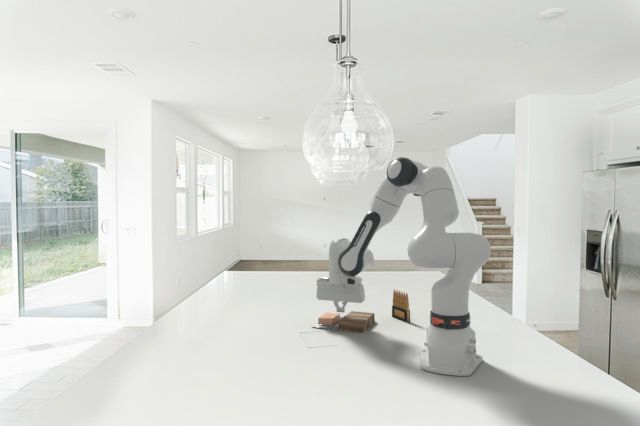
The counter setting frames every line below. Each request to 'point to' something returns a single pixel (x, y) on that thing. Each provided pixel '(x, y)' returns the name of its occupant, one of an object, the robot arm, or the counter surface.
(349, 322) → the deck
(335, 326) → the mat
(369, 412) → the counter surface
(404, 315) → the ammunition clip
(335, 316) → the tile
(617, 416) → the counter surface
